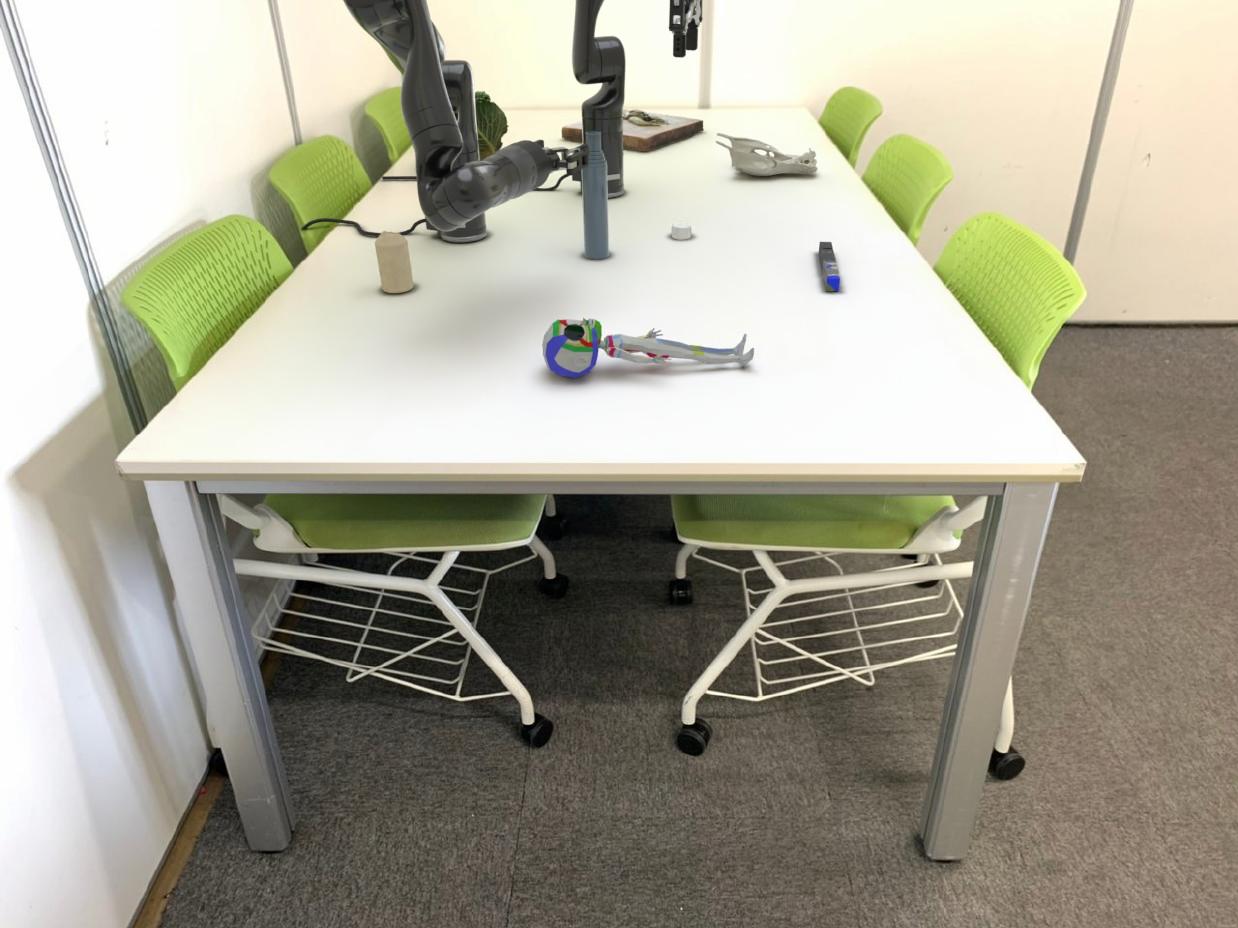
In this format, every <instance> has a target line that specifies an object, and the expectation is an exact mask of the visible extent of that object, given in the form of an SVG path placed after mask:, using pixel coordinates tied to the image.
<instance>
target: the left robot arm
mask: <svg viewBox="0 0 1238 928" xmlns="http://www.w3.org/2000/svg"><path fill="white" fill-rule="evenodd" d="M342 2H343V4H344V6H345V7H346V9H347V11H348V12H349V14H350V15H351V16H352V18H353V19H354V21H355V22H356V23H357V25H358V26H359V27H361V28H362V29H363V31H365V33H366V34H368V35H369V36H370V37H371V38H372V39H373V40H375V41H376V42H377V43H378V45H379V46H380V47H381V49H382V50H383V51H384V53H385V55H386V56H387V57H388V59H389V60H390V62H391V63H392V64H393V65H394V67H395V68H396V69H397V70H398V71H399V72H400V73H401V75H402V76H403V78H402V82H401V87H400V88H401V89H400V110H401V115H402V118H403V122H404V124H405V127H406V130H407V133H408V136H409V139H410V141H411V145H412V148H413V150H414V159H415V161H414V162H415V163H414V164H415V173H416V174H415V176H416V177H417V179H416V188H417V197H418V202H419V206H420V209H421V211H422V213H423V216H424V218H421V219H419V220H417V221H415V222H414V223H413V224H412V225H411V227H410V228H409V229H406V230H403V231H399V232H398V233H399V234H401V235H403V236H406V235H409V234H411V233H413V232H414V231H415V230H416V228H417V227H418V226H419V225H421V224H424V223H425V229H426V230H428V231H436V233H437V238H440V239H442V240H444V241H445V242H449V243H450V242H451V243H461V244H463V243H472V242H476V241H480V240H483V239H485V238H486V237H487V236H488V227H487V221H486V212H487V211H488V210H491V209H493V208H496V207H499V206H502V205H503V204H506V203H507V202H509V201H511V200H516V199H519V198H521V197H523V196H524V195H526V194H529V193H531V192H532V191H534V189H536V188H541V187H542V186H543V185H544V184H545V183H546V182H547V180H548V178H549V176H550V175H551V174H553V173H554V172H560V171H565V174H567V173H568V174H572V173H575V172H577V171H579V170H581V169H583V168H585V167H588V166H589V156H590V152H589V147H588V144H583V143H582V144H580V145H578V146H575V147H573V148H567V147H565V146H558V147H549V146H545V141H544V139H537V140H535V141H533V140H529V139H524V140H519V141H517V142H513V143H510V144H508V145H506V146H504V147H501V149H500V150H498V151H496V152H495V153H493V154H492V155H491V156H489V157H486V158H484V159H482V160H480V156H479V146H478V135H477V123H476V108H475V92H476V87H475V85H476V84H475V76H474V71H473V68H472V66H471V64H470V63H469V61H467V60H464V59H446V45H445V42H444V39H443V37H442V35H441V34H440V32H439V30H438V28H437V26H436V25H435V23H434V22H433V20H432V19H431V14H430V10H429V6H428V1H427V0H342ZM454 113H458V120H457V121H456V118H455V115H454ZM559 153H560V154H561V157H560V156H559ZM318 223H336V224H346V225H351V226H355V227H356V228H357V230H358V232H359V233H360V234H362V235H365V236H371V237H377V238H378V237H379V236H380V234H381V233H382V232H375V231H367V230H364V229H362V227H361V224H359V222H356V221H353V220H348V219H340V218H332V217H331V218H330V217H329V218H328V217H322V218H315V219H312V220H310V221H308V222H307V223H306V224H304V225H303V226H302V228H301V231H305V230H307V229H308V228H309V227H310V226H312V225H315V224H318Z"/></svg>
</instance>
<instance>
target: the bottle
mask: <svg viewBox="0 0 1238 928" xmlns="http://www.w3.org/2000/svg"><path fill="white" fill-rule="evenodd" d="M586 144H588V147H589V152H590V156H589V166H588V167H585V168H583V169H581V171H582V194H581V196H582V199H581V200H582V219H583V220H582V222H583V249H584V250H583V252H584V253H583V254H584V258H586V259H588V260H597V261H598V260H604V259H606V258H609V256H610V241H609V240H610V239H609V237H610V236H609V235H610V233H609V198H608V185H607V163H606V160H605V156H604V153H602V149H601V133H600V132H598V131H589V132H586Z"/></svg>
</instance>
